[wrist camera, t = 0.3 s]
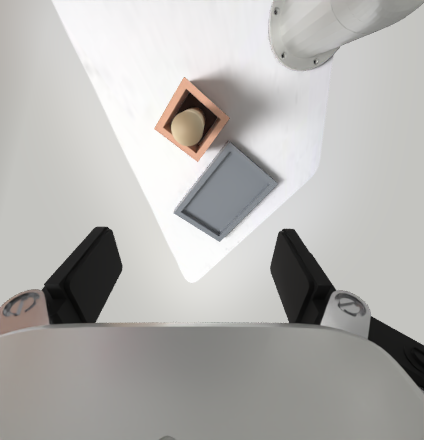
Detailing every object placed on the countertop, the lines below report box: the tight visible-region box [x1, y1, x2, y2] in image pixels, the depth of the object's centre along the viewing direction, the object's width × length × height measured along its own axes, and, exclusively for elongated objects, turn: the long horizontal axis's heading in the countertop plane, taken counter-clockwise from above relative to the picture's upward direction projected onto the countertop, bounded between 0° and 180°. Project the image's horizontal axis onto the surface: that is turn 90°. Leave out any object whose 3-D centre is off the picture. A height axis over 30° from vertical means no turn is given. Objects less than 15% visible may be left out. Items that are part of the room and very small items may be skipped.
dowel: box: [171, 107, 205, 146], centre depth 31 cm, size 4×4×15 cm
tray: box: [174, 141, 278, 242], centre depth 45 cm, size 20×14×2 cm
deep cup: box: [154, 77, 230, 162], centre depth 34 cm, size 8×8×8 cm
